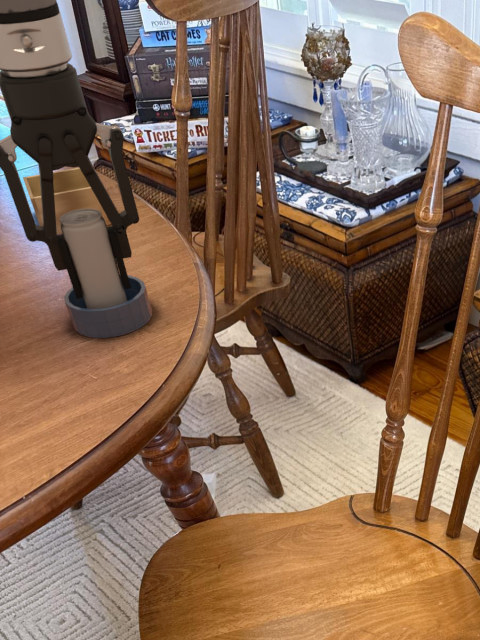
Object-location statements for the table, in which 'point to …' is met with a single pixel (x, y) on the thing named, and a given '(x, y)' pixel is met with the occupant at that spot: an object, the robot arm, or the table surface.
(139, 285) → the dish
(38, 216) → the box
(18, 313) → the table surface
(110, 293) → the beverage can
